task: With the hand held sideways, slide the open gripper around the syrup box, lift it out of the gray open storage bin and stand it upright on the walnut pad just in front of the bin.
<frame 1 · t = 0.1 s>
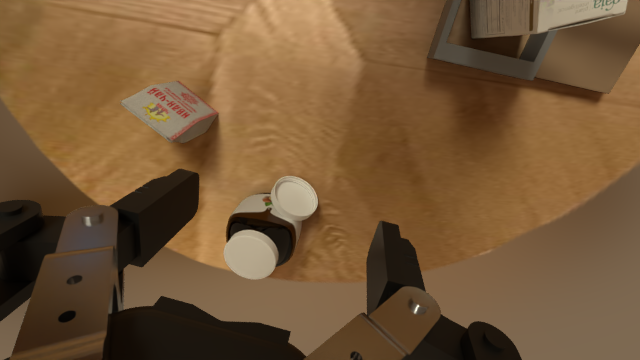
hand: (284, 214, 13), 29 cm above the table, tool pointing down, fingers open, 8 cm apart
spread jar: (281, 203, 47), on the table
walnut pad: (591, 27, 32), on the table
syrup box: (495, 7, 33), resting in gray open storage bin
white gable top carton: (193, 107, 42), on the table
gray open storage bin: (496, 6, 33), on the table
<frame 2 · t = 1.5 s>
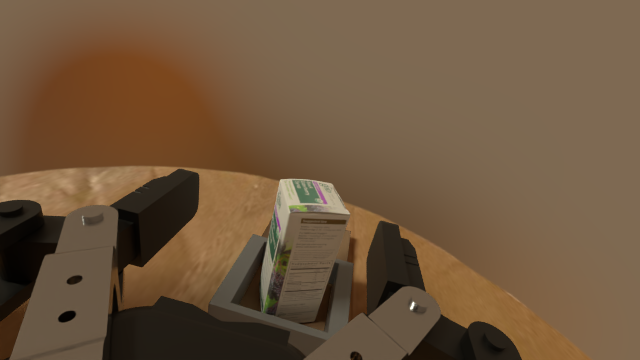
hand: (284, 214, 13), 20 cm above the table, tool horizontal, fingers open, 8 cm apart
walnut pad: (305, 245, 42), on the table
syrup box: (285, 304, 33), resting in gray open storage bin
gray open storage bin: (286, 302, 33), on the table
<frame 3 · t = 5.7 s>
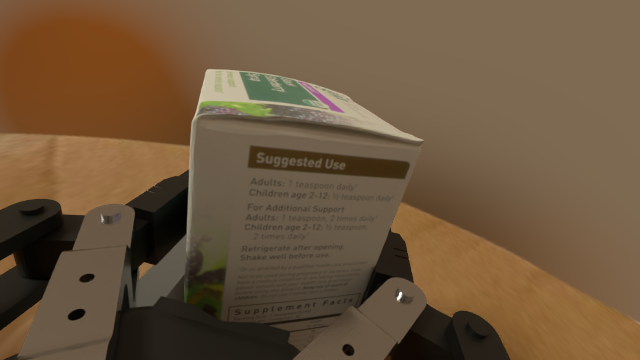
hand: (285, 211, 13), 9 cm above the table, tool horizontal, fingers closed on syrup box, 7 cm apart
when the fingers open (12 cm above the table, at t = 11.0 s): syrup box drops 1 cm, resting on walnut pad.
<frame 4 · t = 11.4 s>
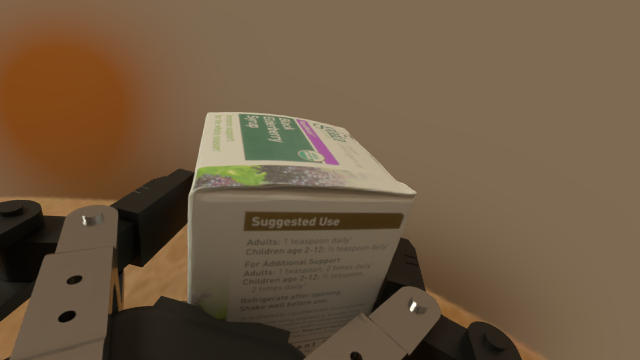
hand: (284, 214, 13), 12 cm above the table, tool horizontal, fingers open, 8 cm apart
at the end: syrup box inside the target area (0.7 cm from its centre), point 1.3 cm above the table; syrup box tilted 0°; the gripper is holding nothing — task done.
